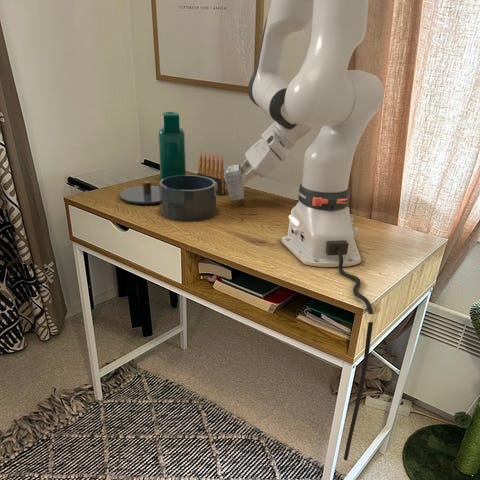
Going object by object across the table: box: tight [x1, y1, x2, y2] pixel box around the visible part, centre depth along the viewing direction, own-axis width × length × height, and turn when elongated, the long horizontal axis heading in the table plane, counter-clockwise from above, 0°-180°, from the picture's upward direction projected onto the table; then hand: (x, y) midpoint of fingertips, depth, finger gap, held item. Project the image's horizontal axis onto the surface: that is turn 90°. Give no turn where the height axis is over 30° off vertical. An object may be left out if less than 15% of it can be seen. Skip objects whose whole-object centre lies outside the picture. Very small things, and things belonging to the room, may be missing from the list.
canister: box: [158, 174, 217, 222], centre depth 137 cm, size 16×16×8 cm
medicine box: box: [224, 164, 245, 202], centre depth 145 cm, size 8×4×9 cm, turn 179°
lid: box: [119, 180, 160, 205], centre depth 149 cm, size 17×17×5 cm
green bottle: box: [157, 111, 187, 180], centre depth 160 cm, size 10×8×22 cm
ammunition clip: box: [196, 150, 226, 196], centre depth 154 cm, size 11×2×12 cm, turn 52°
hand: (240, 177), depth 144 cm, fingers closed on medicine box, 8 cm apart
